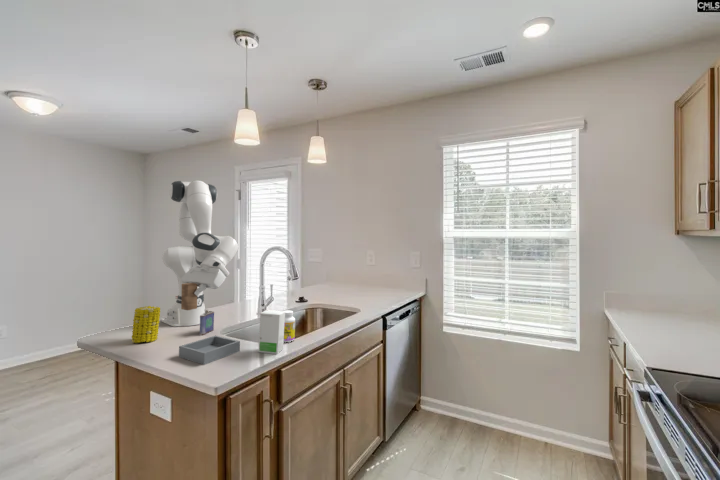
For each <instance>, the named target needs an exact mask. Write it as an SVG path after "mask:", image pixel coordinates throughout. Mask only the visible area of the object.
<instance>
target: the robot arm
mask: <svg viewBox="0 0 720 480" xmlns="http://www.w3.org/2000/svg"><path fill="white" fill-rule="evenodd" d="M168 193H169V196H170V199H171V200H172V201H173V202H176V203H181V205H180V207H179V208H180V209H179V216H178V217H179V219H178V222H179V223H178V224H179V225H178V227H179V229H178V231H179V236H180V237H181V238H182V239H184V240H186V241H188V242H190V244H191V245H192V246H189V245H187V246H186V245H185V246H184V245H183V246H182V245H180V246H178V245H175V246H171V247H167V248H165V250H164V251H163V252H162V253H163V254H162V256H161V259H162V262H163V264H164V265H165V266H166V267H167V268H169V270H171V271H172V272H173V273H174V275H175V276H176V279H177V281H178V295H175V298H176V301H175V302H176V303H174V304H173V305H172V306H170V307H169V308H168V309H167V313H166V317H164V318H163V319H164V320H162V319H161V322H162V323H164V324H166V325H168V326H171V327H184V326H185V327H189V326H196V325H200V315H202V314H204V313H205V311H204V310H205V309H206V307H205V306H206V305H205V303H204V301H205V300H204V299H205V294H204V291H205V290H206V289H214V290H216V289H218V288H221V286H222V284H223V283H224V282H225V281H226V279H227V277H228V276H229V275H230V271H228V269H227V268H226V266H227V265H228V264H229V263H230V262H231V261H232V260H233V258H234V257H235V256H236V254H237V252H238V250H239V244H238V242H237V240H236V239H235V238H234V237H232V236H230V235H225V236H224V235H223V236H222V235H220V236H219V235H216V234H215V235H214V234H212V218H213V217H212V216H213V204H214V203H216V201H217V198H218V190H217V188H216V187H215V185H213V184H210V183H205V181H202V180H198V179H197V180H193V181H181V180H176V181H173V182H172V183H171V184H170V186H169V189H168ZM185 283H196V284H197V290H194V292H193V294H194V295H196V296H197V309H192V310H183V309H181V298H182V284H185Z"/></svg>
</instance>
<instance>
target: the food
mask: <svg viewBox="0 0 720 480" xmlns="http://www.w3.org/2000/svg"><path fill="white" fill-rule="evenodd" d="M160 318H161V307H160V306H159V307H158V306H154V305H153V306H151V305H148V306H146V305H145V306H141V307H137V308H135V310H134V316H133V319H132V321H133V323H132V332H131V333H132V334H131V341H132V342H131V343H133V344H134V343H135V344H138V343H143V342H144V343H145V342H146V343H149V342H151V343H152V342H155V341H156V340H158V339H159V338H158V336H159V326H160Z"/></svg>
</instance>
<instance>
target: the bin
mask: <svg viewBox="0 0 720 480" xmlns="http://www.w3.org/2000/svg"><path fill="white" fill-rule="evenodd" d="M240 347H241V341H239V340H236V339H232V338H228V337H223V336H218V335H213V336H209V337H205V338H203V339H199V340H195V341H192V342H189V343H186V344H182V345H179V347H178V357H179V358H181V359H183V360H188V361H191V362H194V363H198V364H201V365H207V364H210V363H213V362H215V361H218V360H221V359H223V358H226V357H228V356H230V355H234V354H236V353H239V352H241V351H240V349H241V348H240Z"/></svg>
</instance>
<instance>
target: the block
mask: <svg viewBox="0 0 720 480" xmlns="http://www.w3.org/2000/svg"><path fill="white" fill-rule="evenodd" d="M194 290H197V284H196V283H185V284H182V298H181V309H183V310H192V309H197V296H196V295H194V294H193V292H194Z"/></svg>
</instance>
